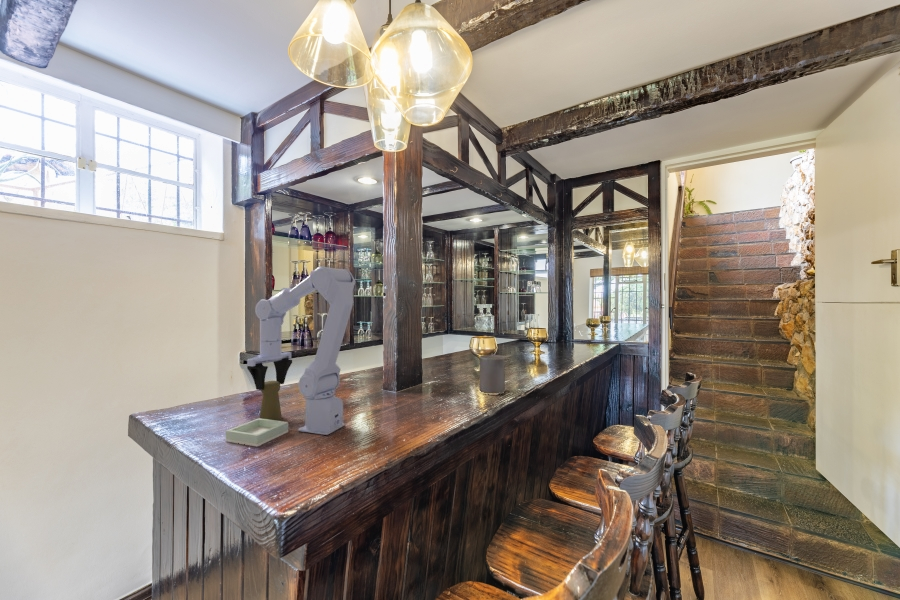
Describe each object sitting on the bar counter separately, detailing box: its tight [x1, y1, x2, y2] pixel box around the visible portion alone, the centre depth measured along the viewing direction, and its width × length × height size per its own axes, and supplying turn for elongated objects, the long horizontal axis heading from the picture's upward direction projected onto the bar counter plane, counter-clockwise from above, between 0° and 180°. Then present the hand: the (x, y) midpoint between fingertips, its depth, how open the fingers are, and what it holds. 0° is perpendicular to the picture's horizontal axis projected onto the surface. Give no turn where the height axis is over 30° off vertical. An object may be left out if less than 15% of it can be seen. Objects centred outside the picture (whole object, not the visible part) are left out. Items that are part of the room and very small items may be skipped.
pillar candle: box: [478, 352, 506, 393], centre depth 136 cm, size 10×10×15 cm
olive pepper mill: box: [258, 380, 283, 421], centre depth 105 cm, size 6×6×11 cm
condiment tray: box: [225, 417, 289, 448], centre depth 91 cm, size 10×10×3 cm
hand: (270, 386), depth 105 cm, fingers open, 7 cm apart
